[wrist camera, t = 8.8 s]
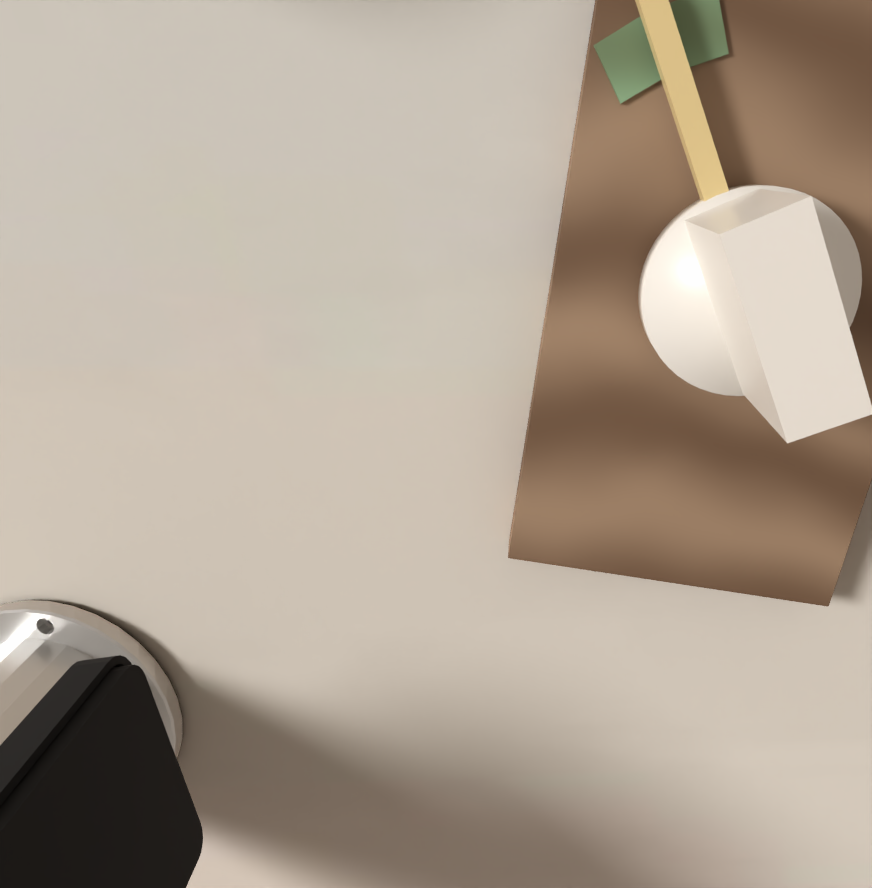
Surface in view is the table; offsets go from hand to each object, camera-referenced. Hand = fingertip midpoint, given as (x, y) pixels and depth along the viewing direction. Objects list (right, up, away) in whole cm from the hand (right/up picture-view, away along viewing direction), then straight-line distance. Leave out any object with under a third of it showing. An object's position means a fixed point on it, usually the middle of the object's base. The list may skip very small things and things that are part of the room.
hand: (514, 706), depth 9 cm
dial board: (+10, +9, +19) cm, 23 cm away
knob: (+8, +11, +17) cm, 22 cm away
